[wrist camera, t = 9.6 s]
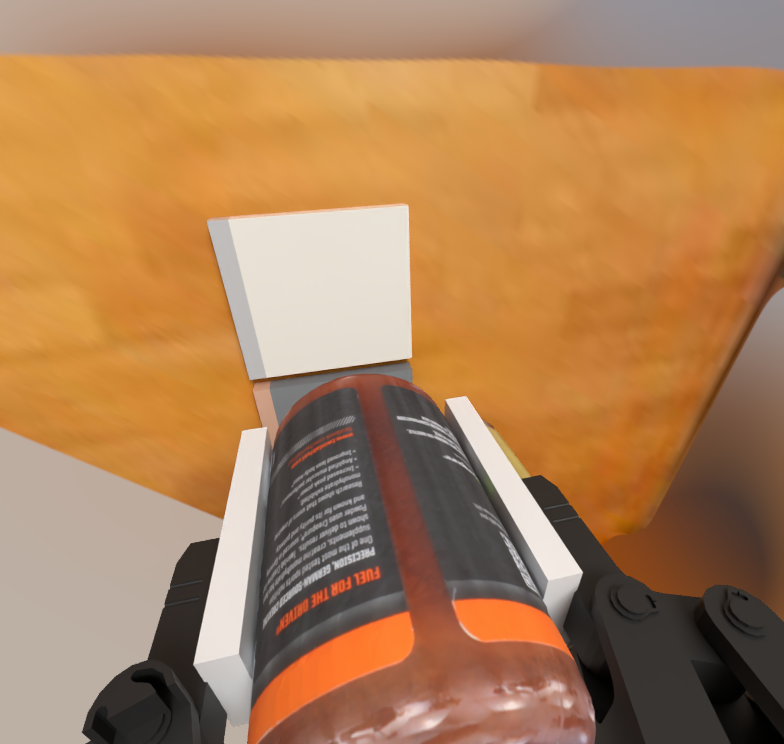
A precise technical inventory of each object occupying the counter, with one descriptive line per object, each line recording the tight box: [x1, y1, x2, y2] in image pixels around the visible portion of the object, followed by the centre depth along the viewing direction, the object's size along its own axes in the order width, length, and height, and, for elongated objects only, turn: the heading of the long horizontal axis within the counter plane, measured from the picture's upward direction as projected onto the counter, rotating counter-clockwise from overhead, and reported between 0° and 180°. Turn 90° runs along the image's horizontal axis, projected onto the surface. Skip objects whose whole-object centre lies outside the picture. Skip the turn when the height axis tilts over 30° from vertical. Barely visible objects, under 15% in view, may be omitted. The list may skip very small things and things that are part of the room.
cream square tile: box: [207, 203, 412, 380], centre depth 27 cm, size 12×11×1 cm
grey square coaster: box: [253, 362, 412, 448], centre depth 33 cm, size 12×11×1 cm
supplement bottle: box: [247, 374, 596, 744], centre depth 9 cm, size 6×6×11 cm
